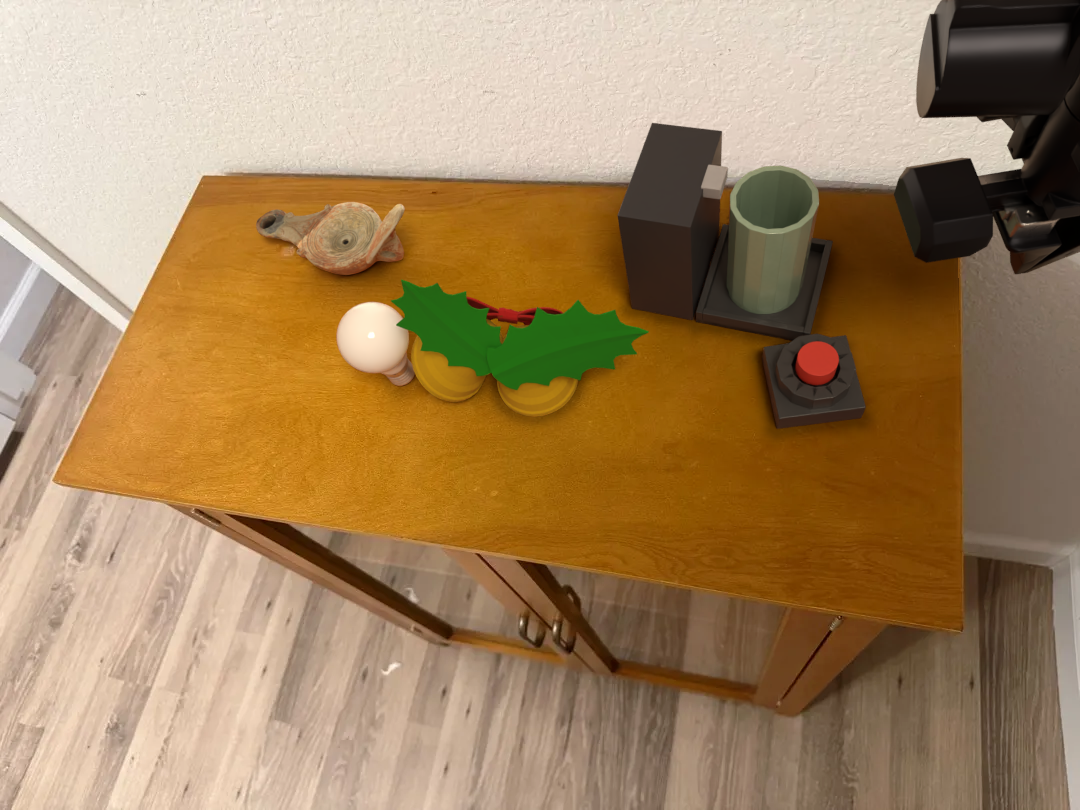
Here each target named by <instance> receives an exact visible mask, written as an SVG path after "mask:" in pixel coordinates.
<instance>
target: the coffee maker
mask: <svg viewBox="0 0 1080 810" xmlns="http://www.w3.org/2000/svg"><path fill="white" fill-rule="evenodd" d="M722 141H723V131H722V130H719V129H718V130H717V129H708V128H700V127H691V126H683V125H675V124H666V123H657V122H651V124H650V127H649V130H648V132H647V135H646V138H645V140H644V143H643V146H642V148H641V152H640V154H639V156H638V159H637V162H636V164H635V167H634V170H633V173H632V176H631V178H630V181H629V182H628V183H629V184H628V186H627V189H626V191H625V194H624V197H623V199H622V203H621V204H620V208H619V210H618V213H617V222H618V228H619V235H620V240H621V248H622V254H623V260H624V267H625V272H626V279H627V285H628V292H629V299H630V305H631V309H632V310H637V311H644V312H649V313H653V314H659V315H664V316H669V317H673V318H679V319H683V320H684V319H685V320H688V321H689V320H690V321H694V319H695V322H696V323H701V324H705V325H711V326H715V327H720V328H725V329H731V330H736V331H741V332H746V333H752V334H755V335H756V334H757V335H761V336H766V337H771V338H777V339H782V340H787V341H793V340H794V339H796V338H797V337H798V336H805V335H811V333H812V329H813V324H814V320H815V316H816V313H817V309H818V305H819V300H820V296H821V292H822V288H823V283H824V280H825V276H826V271H827V268H828V265H829V260H830V255H831V253H832V252H831V251H832V246H833V243H834V241H833V240H829V239H823V238H816V237H812V241H811V246H810V251H809V256H808V261H807V266H806V271H805V276H804V281H803V286H802V288H801V292H800V294H799V296H798V298H797V299H796V300H795V302H794V303H793V304H792V305H790V306H789V307H788V308H786V309H784V310H782V311H780V312H777V313H772V314H755V313H751V312H748V311H745V310H744V309H742V308H740V307H739V306H737V305H736V304H735V303H734V302H733V301H732V299H731V298H730V296H729V294H728V291H727V286H726V273H727V251H728V228H729V224H725V223H723V224H722V226H721V229H720V224H721V223H720V221H721V200H722V197H723V192H724V189H725V186H726V183H727V181H728V176H729V175H728V174H729V173H728V172H729V168H728V166H722V154H723V153H722V151H723V149H722V148H723V146H722V145H723V142H722Z"/></svg>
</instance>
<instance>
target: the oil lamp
mask: <svg viewBox="0 0 1080 810" xmlns="http://www.w3.org/2000/svg"><path fill="white" fill-rule="evenodd" d="M405 211H406V208H405V206H404V205H403V204H402V203H397V204H396V205H394V206H393V208H391V209H390V210H389V212H388V213H387V214H386V215H385V217H384V218H383V220H382V219H381V217H380V216H379V213H377V212H376V211H375V209H373V207H371V206H369V205H367V204H365V203H361V202H356V201H347V202H341V203H338V204H334V205H331V204H328V203H327V204H326V205H324V209H321V211H317V212H315V213H311V214H306V215H295V214H294V213H293V212H291V211H290V212H286V211H284V210H282V209H272V210H269V211H267V212H266V213H264V214H263V215H262V216H260V217H259V218H258V219H257V220H256V224H255V227H256V231H257V232H258V234H259V235H260V236H263V237H264V238H268V239H278V240H282V241H285V242H289V243H292V245H294V246H295V247H297V248H298V249H297V250H296V254H297V255H298V256H299V257H301V258H303V259H307V261H309V262H310V263H311V264H312V265H313V266H315V267H316V268H319V269H320V270H323V271H326V272H329V273H332V274H335V275H343V276H344V275H345V276H347V275H354V274H359V273H361V272H363V271H366V270H368V269H369V268H371V267H372V266H373V265H374V264H375V263H377V262H381V261H382V262H398V261H401V260H402V259H404V256H405V250H404V247H403V244H402V241H401V240H400V237H399V236H398V234H397V230H396V228H397V226H398V225H399V223H400V221H401V219H402V217H403V215H404V214H405Z"/></svg>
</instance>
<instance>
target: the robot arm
mask: <svg viewBox="0 0 1080 810" xmlns="http://www.w3.org/2000/svg"><path fill="white" fill-rule="evenodd" d="M917 65H918V66H917V72H916V73H917V75H916V87H915V88H916V90H915V101H916V110H917V115H918V116H919V117H918V118H921V119H940V118H941V119H943V118H977V119H978V120H979V122H981V123H986V122H987V123H988V122H993V121H998V120H1001V121H1003V123H1005V125H1006V126H1007V127H1008V128H1009V129H1010V130H1011V131H1012V134H1011V135H1010V137H1009V140H1008V142H1007V144H1006V146H1007V149H1008V152H1009V153H1010V156H1011V159H1012V160H1014V161H1015V160H1021V161H1022V163H1023V165H1022V167H1021V168H1017V169H1012V170H1005V171H999V172H993V173H987V174H982V175H981V174H980V175H978V173H977V171H976V168H975V165H974V163H973V161H972V158H971V157H957V158H951V159H946V160H940V161H935V162H928V163H924V164H917V165H911V166H906V167H905V168H904V170H903V171H902V172H901V174H900V175H899V177H898V179H897V182H896V184H895V188H894V191H893V197H894V201H895V204H896V206H897V210H898V212H899V215H900V219H901V221H902V224H903V228H904V230H905V233H906V237H907V239H908V243H909V245H910V248H911V251H912V255H913V257H914V258H915V259H918V260H920V261H922V262H924V263H925V264H928V263H933V262H941V261H948V260H954V259H960V258H967V257H972V256H973V255H975V254H976V253H978V252H980V251H982V250H984V249H986V248H987V247H988V246H989V244H990V242H991V241H992V238H993V237H994V221H995V225H996V227H997V230H998V232H999V235H1000V237H1001V239H1002V242H1003V245H1004V246H1005V248H1006V250H1007V251H1008V252H1009V264H1010V266H1011V269H1012V271H1013V273H1014V275H1021V274H1028V273H1030V272H1033V271H1035V270H1039V269H1040V268H1042V267H1045V266H1048V265H1050V264H1051V265H1052V264H1053V263H1056V262H1058V261H1060V260H1063V259H1065V258H1068V257H1071V256H1073V255H1076V254H1078V253H1080V0H940V1H939V3H938V4H937V6H936V8H935V9H934V12H933V13H929V15H928V18H927V21H926V25H925V29H924V33H923V37H922V42H921V46H920V53H919V57H918V64H917Z"/></svg>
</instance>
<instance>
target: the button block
mask: <svg viewBox="0 0 1080 810" xmlns="http://www.w3.org/2000/svg"><path fill="white" fill-rule="evenodd" d="M815 341H819V342H825V343H827V344H829V345H831V346H832V347H833V348H834V349H835V350H836V351H837V353H838V356H839V363H838V366H837V369H836V372H835V375H834V377H833V378H832V379H831V380H830V381H829V382H827V383H825V384H822V385H811V384H808V383H805V382H804V381H802V380H801V379H800V378H799V377H798V375H797V373H796V369H795V365H796V361H797V356H798V353H799V351H800V349H801V348H802V347H803V346H804V345H806V344H808V343H810V342H815ZM761 360H762V365H763V370H764V374H765V380H766V384H767V389H768V393H769V398H770V402H771V407H772V412H773V417H774V421H775V425H776V429H779V430H780V429H786V428H793V427H794V428H796V427H801V426H802V427H803V426H810V425H811V426H812V425H817V424H827V423H833V422H841V421H850V420H856V419H861V418H862V417H863V415H864V413H865V411H866V408H867V406H866V402H865V399H864V396H863V392H862V388H861V384H860V381H859V377H858V374H857V367H856V364H855V359H854V356H853V353H852V351H851V348H850V344H849V340H848V337H847V335H846V334H845V335H837V336H831V337H830V336H828V335H824V334H820V333H812V334H811V333H810V335H805V336H798V337H797V338H796V339H794V340H793V341H792V340H790V341H789V342H788V343H782V344H774V345H768V346H763V349H762V357H761Z"/></svg>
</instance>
